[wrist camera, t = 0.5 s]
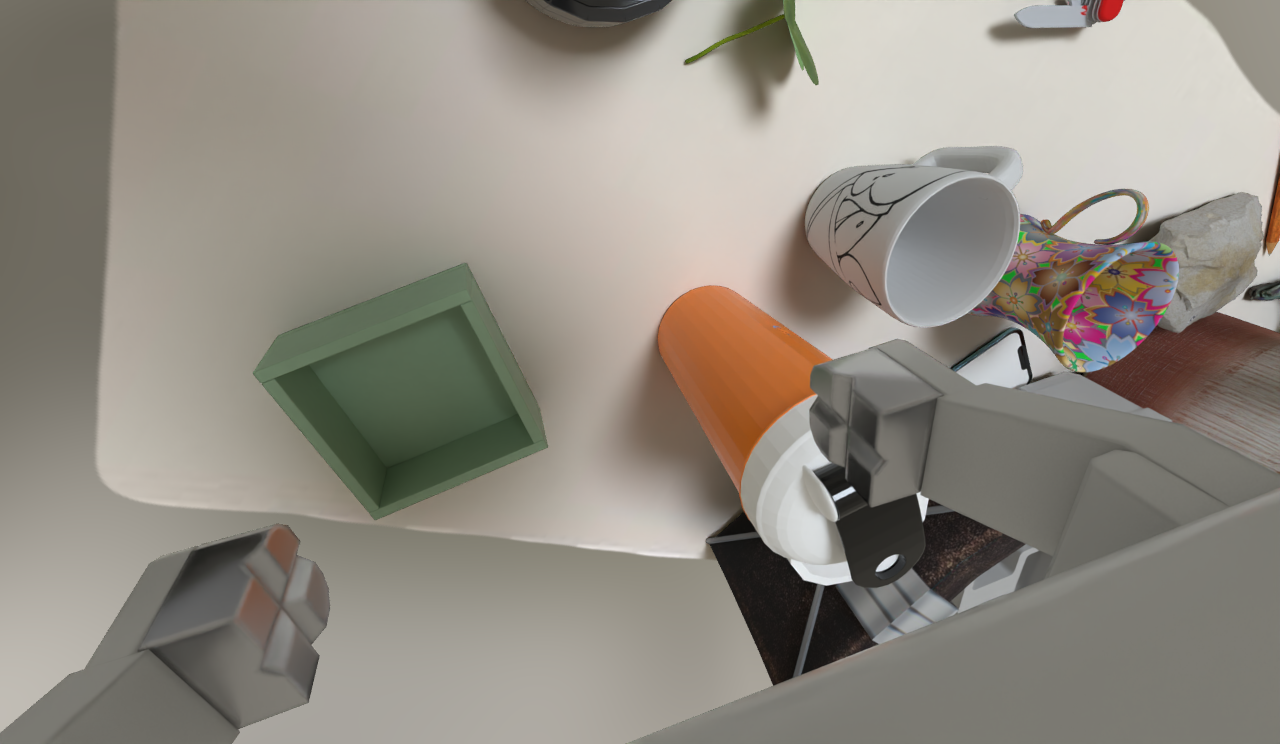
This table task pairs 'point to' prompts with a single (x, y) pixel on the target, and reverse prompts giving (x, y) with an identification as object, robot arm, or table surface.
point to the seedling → (796, 36)
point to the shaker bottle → (780, 438)
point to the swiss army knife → (1069, 14)
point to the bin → (407, 391)
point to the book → (850, 592)
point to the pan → (597, 10)
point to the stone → (1211, 256)
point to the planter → (1208, 382)
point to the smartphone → (999, 362)
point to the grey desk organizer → (1027, 560)
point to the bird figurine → (1266, 292)
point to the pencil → (1274, 223)
